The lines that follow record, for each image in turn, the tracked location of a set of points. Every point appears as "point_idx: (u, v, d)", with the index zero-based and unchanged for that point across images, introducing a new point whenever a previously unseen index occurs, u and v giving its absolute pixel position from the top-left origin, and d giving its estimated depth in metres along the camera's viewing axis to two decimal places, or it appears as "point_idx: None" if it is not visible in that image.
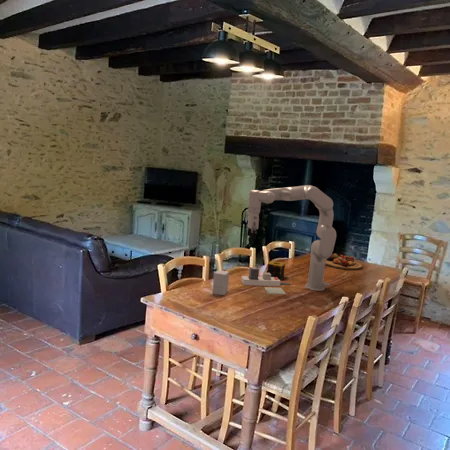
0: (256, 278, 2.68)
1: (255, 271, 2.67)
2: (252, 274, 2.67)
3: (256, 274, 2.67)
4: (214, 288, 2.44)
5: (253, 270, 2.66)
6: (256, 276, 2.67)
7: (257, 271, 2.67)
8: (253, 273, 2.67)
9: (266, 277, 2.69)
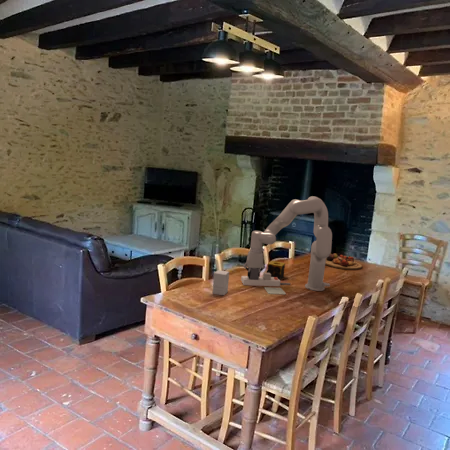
0: (256, 278, 2.68)
1: (255, 271, 2.67)
2: (252, 274, 2.67)
3: (256, 274, 2.67)
4: (214, 288, 2.44)
5: (253, 270, 2.66)
6: (256, 276, 2.67)
7: (257, 271, 2.67)
8: (253, 273, 2.67)
9: (266, 277, 2.69)
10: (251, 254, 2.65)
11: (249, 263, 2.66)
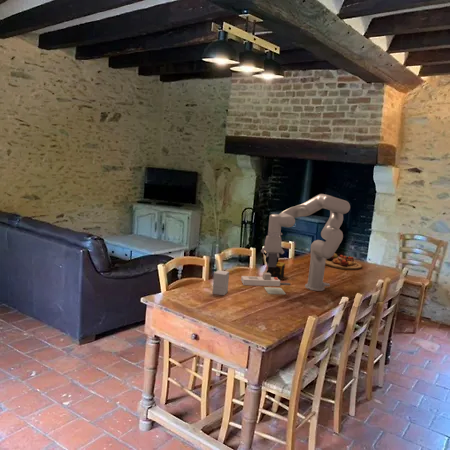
0: (274, 263, 2.57)
1: (273, 256, 2.56)
2: (270, 259, 2.56)
3: (274, 259, 2.57)
4: (214, 288, 2.44)
5: (271, 255, 2.56)
6: (274, 261, 2.57)
7: (275, 256, 2.56)
8: (271, 258, 2.56)
9: (266, 277, 2.69)
10: (269, 238, 2.54)
11: (267, 248, 2.55)
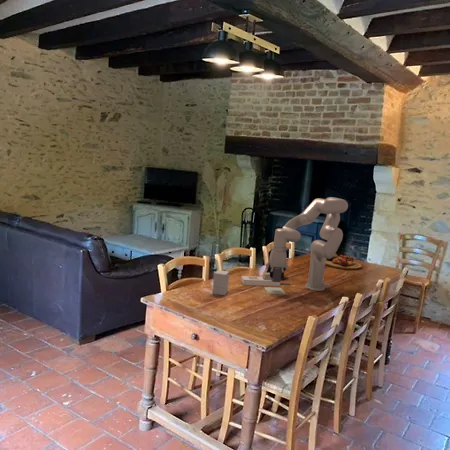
0: (279, 278, 2.55)
1: (278, 271, 2.54)
2: (275, 274, 2.54)
3: (279, 274, 2.54)
4: (214, 288, 2.44)
5: (276, 270, 2.54)
6: (279, 276, 2.55)
7: (280, 271, 2.54)
8: (276, 273, 2.54)
9: (266, 277, 2.69)
10: (274, 253, 2.52)
11: (272, 262, 2.53)
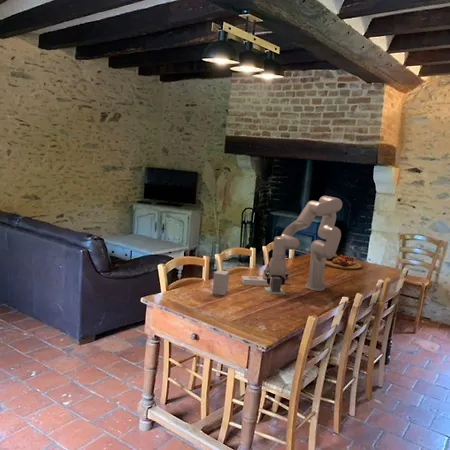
0: (278, 288, 2.56)
1: (278, 281, 2.55)
2: (274, 284, 2.55)
3: (279, 284, 2.56)
4: (214, 288, 2.44)
5: (275, 280, 2.55)
6: (278, 286, 2.56)
7: (280, 281, 2.55)
8: (275, 283, 2.55)
9: (266, 277, 2.69)
10: (273, 261, 2.53)
11: (271, 270, 2.54)
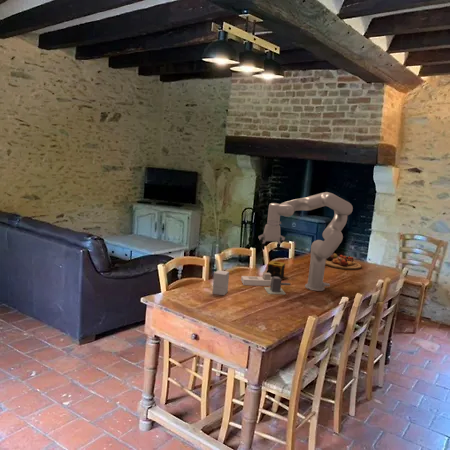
0: (278, 288, 2.56)
1: (278, 281, 2.55)
2: (274, 284, 2.55)
3: (279, 284, 2.56)
4: (214, 288, 2.44)
5: (275, 280, 2.55)
6: (278, 286, 2.56)
7: (280, 281, 2.55)
8: (275, 283, 2.55)
9: (266, 277, 2.69)
10: (268, 227, 2.58)
11: (266, 236, 2.59)
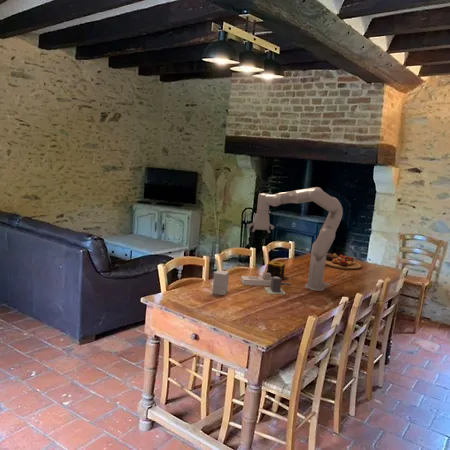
0: (278, 288, 2.56)
1: (278, 281, 2.55)
2: (274, 284, 2.55)
3: (279, 284, 2.56)
4: (214, 288, 2.44)
5: (275, 280, 2.55)
6: (278, 286, 2.56)
7: (280, 281, 2.55)
8: (275, 283, 2.55)
9: (266, 277, 2.69)
10: (258, 216, 2.70)
11: (256, 225, 2.71)
